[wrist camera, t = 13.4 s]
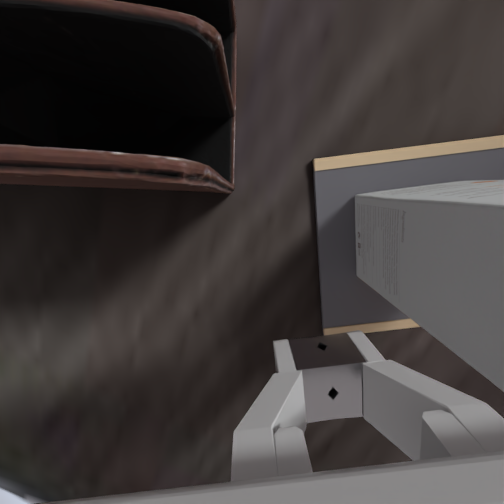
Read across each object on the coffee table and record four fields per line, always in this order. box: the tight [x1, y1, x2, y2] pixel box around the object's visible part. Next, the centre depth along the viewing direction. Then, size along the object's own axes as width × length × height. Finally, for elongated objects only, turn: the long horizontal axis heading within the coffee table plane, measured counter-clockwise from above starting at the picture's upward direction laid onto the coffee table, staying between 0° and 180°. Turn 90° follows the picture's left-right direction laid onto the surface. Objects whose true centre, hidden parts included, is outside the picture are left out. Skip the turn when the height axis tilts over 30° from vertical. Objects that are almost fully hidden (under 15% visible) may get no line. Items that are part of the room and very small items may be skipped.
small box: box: [355, 180, 504, 392], centre depth 12 cm, size 8×6×13 cm
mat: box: [312, 135, 504, 336], centre depth 19 cm, size 16×14×1 cm
